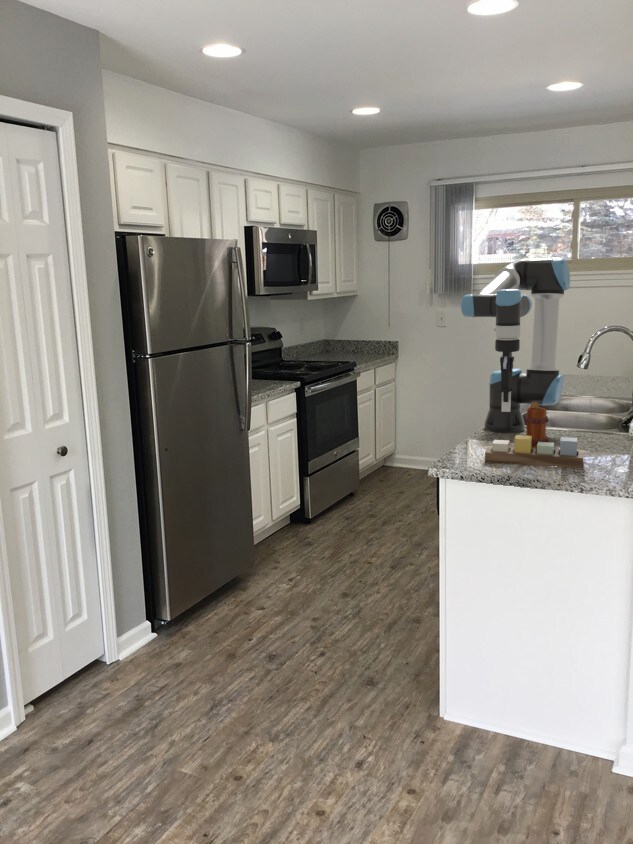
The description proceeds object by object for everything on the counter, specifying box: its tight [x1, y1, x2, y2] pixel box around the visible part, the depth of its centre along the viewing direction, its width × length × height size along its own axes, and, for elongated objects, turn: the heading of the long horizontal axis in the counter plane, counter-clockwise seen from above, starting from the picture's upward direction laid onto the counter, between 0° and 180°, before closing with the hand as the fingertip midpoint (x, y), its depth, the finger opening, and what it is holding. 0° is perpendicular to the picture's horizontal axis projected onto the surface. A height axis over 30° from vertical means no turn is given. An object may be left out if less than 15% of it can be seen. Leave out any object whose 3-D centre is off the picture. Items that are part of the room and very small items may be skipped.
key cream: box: [491, 439, 511, 452], centre depth 237 cm, size 5×5×5 cm
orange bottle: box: [524, 402, 550, 448], centre depth 252 cm, size 15×8×15 cm, turn 168°
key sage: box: [537, 441, 555, 455], centre depth 233 cm, size 5×5×5 cm
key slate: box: [559, 436, 578, 456], centre depth 230 cm, size 5×5×5 cm
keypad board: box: [484, 444, 584, 470], centre depth 234 cm, size 10×30×4 cm, turn 70°
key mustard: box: [513, 434, 532, 453], centre depth 235 cm, size 5×5×5 cm
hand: (505, 411), depth 234 cm, fingers closed
